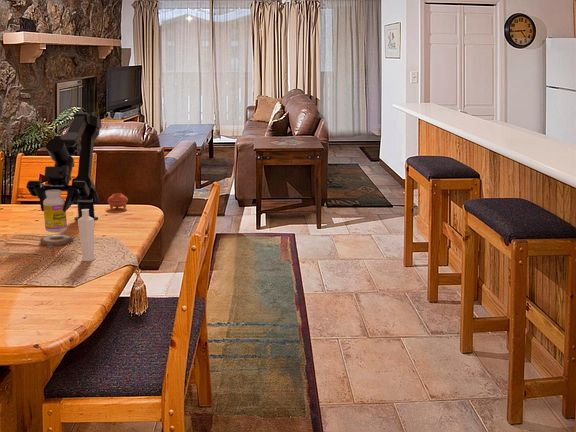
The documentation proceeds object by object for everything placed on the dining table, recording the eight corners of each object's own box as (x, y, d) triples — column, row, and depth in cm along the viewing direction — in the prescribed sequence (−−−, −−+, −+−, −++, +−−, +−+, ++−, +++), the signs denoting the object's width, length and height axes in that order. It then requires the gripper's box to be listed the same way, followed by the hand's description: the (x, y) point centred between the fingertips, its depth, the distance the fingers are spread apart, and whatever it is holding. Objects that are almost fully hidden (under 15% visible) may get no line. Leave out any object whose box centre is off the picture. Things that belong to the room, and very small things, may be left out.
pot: (116, 211, 249) (112, 194, 249) (106, 212, 255) (102, 196, 254) (133, 207, 255) (130, 190, 255) (122, 208, 261) (119, 192, 260)
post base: (48, 236, 213) (48, 232, 213) (78, 236, 214) (78, 232, 213) (33, 247, 201) (33, 243, 201) (65, 247, 201) (65, 243, 201)
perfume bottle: (89, 256, 192) (86, 207, 189) (99, 258, 190) (96, 209, 186) (76, 259, 189) (73, 210, 185) (86, 262, 186) (83, 212, 183)
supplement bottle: (53, 233, 202) (49, 194, 199) (41, 230, 206) (37, 191, 203) (71, 229, 207) (68, 190, 204) (59, 226, 211) (56, 187, 208)
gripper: (25, 155, 205) (14, 196, 197) (84, 156, 205) (75, 197, 197) (37, 175, 214) (27, 215, 206) (93, 176, 214) (85, 216, 206)
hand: (53, 210), depth 204 cm, fingers closed on supplement bottle, 7 cm apart
